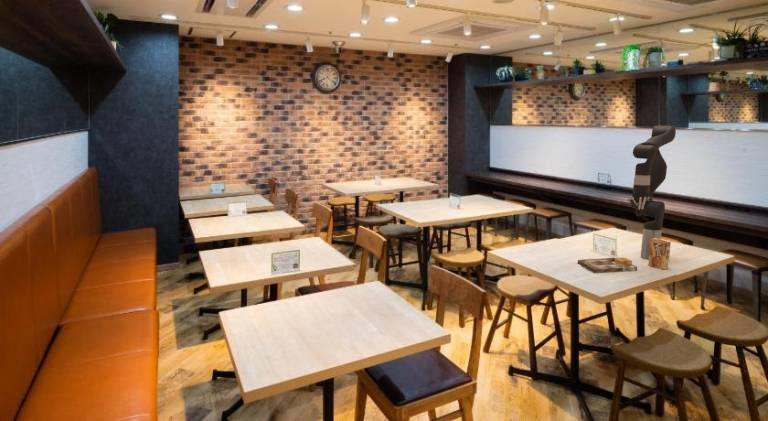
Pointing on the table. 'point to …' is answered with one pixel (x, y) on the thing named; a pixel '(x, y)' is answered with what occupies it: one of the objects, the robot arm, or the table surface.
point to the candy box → (659, 253)
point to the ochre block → (623, 261)
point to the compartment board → (604, 265)
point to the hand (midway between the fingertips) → (638, 216)
